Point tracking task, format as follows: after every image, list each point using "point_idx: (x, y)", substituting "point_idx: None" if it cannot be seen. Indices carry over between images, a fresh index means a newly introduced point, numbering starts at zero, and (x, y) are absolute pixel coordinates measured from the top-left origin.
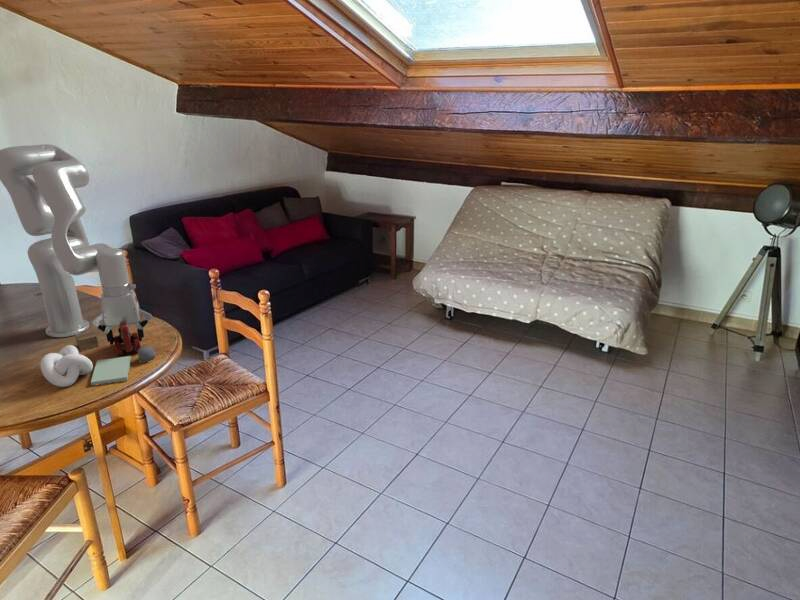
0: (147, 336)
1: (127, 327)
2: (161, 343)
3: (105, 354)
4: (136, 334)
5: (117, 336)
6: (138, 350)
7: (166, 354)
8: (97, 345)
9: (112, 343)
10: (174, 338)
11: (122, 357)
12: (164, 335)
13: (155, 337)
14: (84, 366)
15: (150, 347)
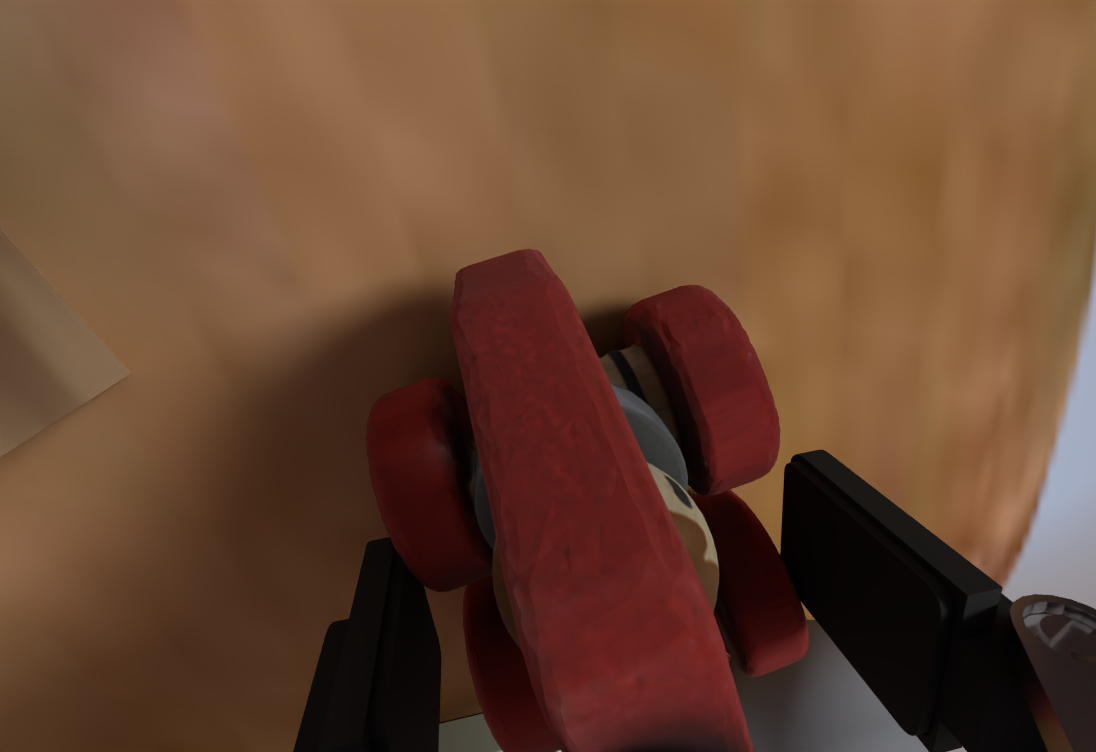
0: (783, 102)
1: (716, 587)
2: (934, 367)
3: (344, 579)
4: (768, 466)
5: (463, 537)
6: None
7: None
8: (103, 388)
9: (437, 669)
10: (1090, 246)
11: None
12: (1004, 116)
13: (886, 167)
14: None
15: (910, 745)
